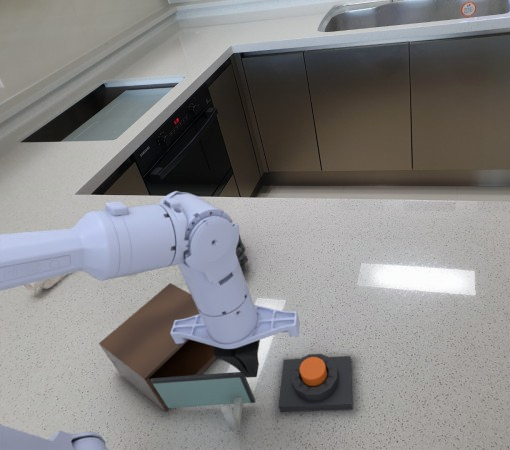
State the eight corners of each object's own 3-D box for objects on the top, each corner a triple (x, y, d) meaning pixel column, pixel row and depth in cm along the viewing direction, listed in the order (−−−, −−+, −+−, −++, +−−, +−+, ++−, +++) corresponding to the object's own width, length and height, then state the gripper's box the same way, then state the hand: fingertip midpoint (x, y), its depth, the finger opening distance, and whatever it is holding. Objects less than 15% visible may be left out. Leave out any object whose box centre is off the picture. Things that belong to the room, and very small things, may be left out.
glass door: (251, 434, 60) (238, 407, 56) (159, 440, 62) (140, 413, 58) (255, 399, 64) (243, 371, 60) (169, 405, 66) (151, 378, 62)
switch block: (280, 411, 64) (276, 399, 62) (285, 364, 69) (281, 352, 68) (352, 409, 62) (350, 397, 60) (351, 361, 68) (349, 348, 66)
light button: (300, 387, 63) (298, 380, 62) (302, 364, 66) (300, 357, 65) (326, 386, 62) (325, 378, 61) (327, 363, 65) (325, 356, 64)
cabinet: (232, 343, 74) (217, 308, 69) (166, 412, 67) (144, 378, 62) (186, 316, 81) (170, 282, 76) (121, 376, 73) (98, 343, 68)
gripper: (291, 264, 51) (311, 340, 59) (168, 274, 53) (204, 346, 61) (286, 313, 45) (308, 389, 54) (149, 322, 48) (191, 394, 56)
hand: (252, 370), depth 57 cm, fingers closed
